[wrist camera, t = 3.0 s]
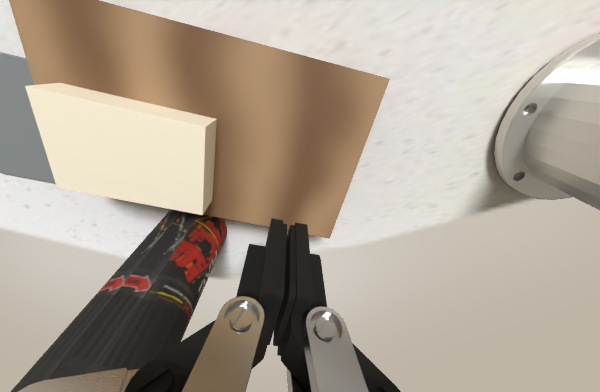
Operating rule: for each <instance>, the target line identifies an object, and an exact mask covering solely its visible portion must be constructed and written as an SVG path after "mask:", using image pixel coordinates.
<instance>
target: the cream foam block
mask: <svg viewBox="0 0 600 392" xmlns="http://www.w3.org/2000/svg"><path fill="white" fill-rule="evenodd" d="M25 88H26V91H27V94H28V97H29V100H30V103H31V107H32V110H33V113H34V116H35V119H36V123H37V126H38V129H39V132H40V135H41V138H42V142H43V145H44V148H45V151H46V154H47V157H48V161H49V164H50V167H51V170H52V173H53V177H54V180H55V183H56V186H57V188H60V189H66V190H71V191H76V192H82V193H87V194H92V195H98V196H103V197H108V198H114V199H119V200H124V201H130V202H135V203H140V204H145V205H151V206H156V207H161V208H167V209H172V210H177V211H183V212H188V213H193V214H199V215H203V214H204V212H205V211H206V209H207V208H208V206H209V204H210V203H211V201H212V197H213V179H214V161H215V143H216V125H217V119H215V118H210V117H206V116H202V115H197V114H193V113H189V112H184V111H180V110H176V109H171V108H167V107H163V106H159V105H154V104H150V103H146V102H141V101H137V100H133V99H128V98H124V97H120V96H115V95H111V94H107V93H102V92H98V91H94V90H89V89H85V88H81V87H76V86H72V85H68V84H63V83H51V84H40V85H30V86H25Z"/></svg>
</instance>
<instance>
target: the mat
mask: <svg viewBox="0 0 600 392" xmlns="http://www.w3.org/2000/svg"><path fill="white" fill-rule="evenodd" d="M30 85H34V82H33V79H32V76H31V72H30V69H29V66H28V62H27V59H26V58H22V57H18V56H14V55H9V54H5V53H1V52H0V173H4V174H9V175H14V176H19V177H25V178H30V179H35V180H41V181H46V182H51V183H55V180H54V177H53V173H52V170H51V167H50V164H49V161H48V157H47V154H46V151H45V148H44V145H43V142H42V138H41V135H40V132H39V129H38V126H37V123H36V119H35V116H34V113H33V110H32V107H31V103H30V100H29V97H28V94H27V91H26V88H25V86H30Z"/></svg>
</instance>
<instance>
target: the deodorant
mask: <svg viewBox="0 0 600 392" xmlns="http://www.w3.org/2000/svg"><path fill="white" fill-rule="evenodd" d="M226 234H227V226H226V223H225V221H224V219H223V218H219V217H213V216H208V215H199V214H193V213H188V212H183V211H177V210H172V209H171V210H170V211H169V212H168V213H167V215H166V216H165V217H164V218H163V219H162V220H161V221H160V222H159V224H158V225H157V226H156V227H155V228H154V229H153V230H152V232H151V233H150V234H149V235H148V236H147V237H146V238H145V240H144V241H143V242H142V243H141V244H140V245H139V246H138V248H137V249H136V250H135V251H134V252H133V253H132V254H131V255H130V257H129V258H128V259H127V260H126V261H125V262H124V264H123V265H122V266H121V267H120V268H119V269H118V270H117V271H116V273H115V274H114V275H113V276H112V277H111V278H110V280H109V281H108V282H107V283H106V284H105V285H104V286H103V288H102V289H101V290H100V291H99V292H98V293H97V294H96V295H95V296H94V298H93V299H92V300H91V301H90V302H89V303H88V304H87V306H86V307H85V308H84V309H83V310H82V311H81V312H80V314H79V315H78V316H77V317H76V318H75V319H74V320H73V322H72V323H71V324H70V325H69V326H68V327H67V328H66V330H65V331H64V332H63V333H62V334H61V335H60V336H59V337H58V339H57V340H56V341H55V342H54V343H53V344H52V345H51V347H50V348H49V349H48V350H47V351H46V352H45V353H44V354H43V356H42V357H41V358H40V359H39V360H38V361H37V362H36V364H35V365H34V366H33V367H32V368H31V369H30V371H29V372H28V373H27V374H26V375H25V376H24V377H23V378H22V379H21V381H20V382H19V383H18V384H17V385H16V386H15V387H14V389H13V390H12V391H11V392H18V391H20V390H22V389H23V388H25V387H27V386H29V385H31V384H34V383H37V382H40V381H44V380H50V379H56V378H63V377H69V376H76V375H82V374H89V373H95V372H102V371H108V370H115V369H121V368H126V369H127V371H129V370H135V369H141V368H142V367H143V366H144V365H146V364H147V363H149V362H150V361H152V360H153V359H155V358H156V357H158V356H160V355H161V354H163V353H164V352H166V351H167V350H169V349H171V348H172V347H174V346H175V345H177V344H178V343H180V342H181V340H182V338H183V335H184V333H185V331H186V328H187V326H188V324H189V321H190V319H191V316H192V314H193V312H194V310H195V307H196V305H197V303H198V300H199V298H200V296H201V293H202V291H203V289H204V287H205V284H206V282H207V280H208V277H209V275H210V273H211V270H212V268H213V266H214V263H215V261H216V259H217V256H218V254H219V252H220V249H221V247H222V245H223V242H224V240H225V238H226Z"/></svg>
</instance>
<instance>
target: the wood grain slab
mask: <svg viewBox="0 0 600 392" xmlns="http://www.w3.org/2000/svg"><path fill="white" fill-rule="evenodd" d="M9 2H10V5H11V8H12V12H13V15H14V18H15V22H16V25H17V29H18V32H19V35H20V39H21V42H22V45H23V49H24V52H25V56H26V59H27V62H28V66H29V69H30V72H31V76H32V79H33V82H34V85H40V84H51V83H63V84H68V85H72V86H76V87H81V88H85V89H89V90H94V91H98V92H102V93H107V94H111V95H115V96H120V97H124V98H128V99H133V100H137V101H141V102H146V103H150V104H154V105H159V106H163V107H167V108H171V109H176V110H180V111H184V112H189V113H193V114H197V115H202V116H206V117H210V118H215V119H217V125H216V143H215V161H214V179H213V197H212V201H211V203H210V204H209V206H208V208H207V209H206V211H205V212H204V214H203V215H208V216H213V217H219V218H224V219H229V220H234V221H240V222H245V223H250V224H256V225H261V226H266V227H270V222H271V218H273V219H279V220H283V223H284V224H287V230H288V231H289V228H290V225H295V223H302V224H307V226H308V234H309V235H314V236H320V237H325V238H330V236H331V233H332V230H333V228H334V225H335V222H336V220H337V217H338V214H339V212H340V209H341V207H342V204H343V201H344V199H345V196H346V193H347V191H348V188H349V185H350V183H351V180H352V177H353V175H354V172H355V169H356V167H357V164H358V162H359V159H360V156H361V154H362V151H363V148H364V146H365V143H366V140H367V138H368V135H369V132H370V130H371V127H372V124H373V122H374V119H375V117H376V114H377V111H378V109H379V106H380V103H381V101H382V98H383V95H384V93H385V90H386V87H387V85H388V82H389V79H388V78H384V77H381V76H377V75H373V74H370V73H366V72H362V71H358V70H355V69H351V68H347V67H344V66H340V65H336V64H332V63H329V62H325V61H321V60H318V59H314V58H310V57H306V56H303V55H299V54H295V53H292V52H288V51H284V50H281V49H277V48H273V47H269V46H266V45H262V44H258V43H255V42H251V41H247V40H243V39H240V38H236V37H232V36H229V35H225V34H221V33H218V32H214V31H210V30H206V29H203V28H199V27H195V26H192V25H188V24H184V23H180V22H177V21H173V20H169V19H166V18H162V17H158V16H154V15H151V14H147V13H143V12H140V11H136V10H132V9H129V8H125V7H121V6H117V5H114V4H110V3H106V2H103V1H99V0H9Z"/></svg>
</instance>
